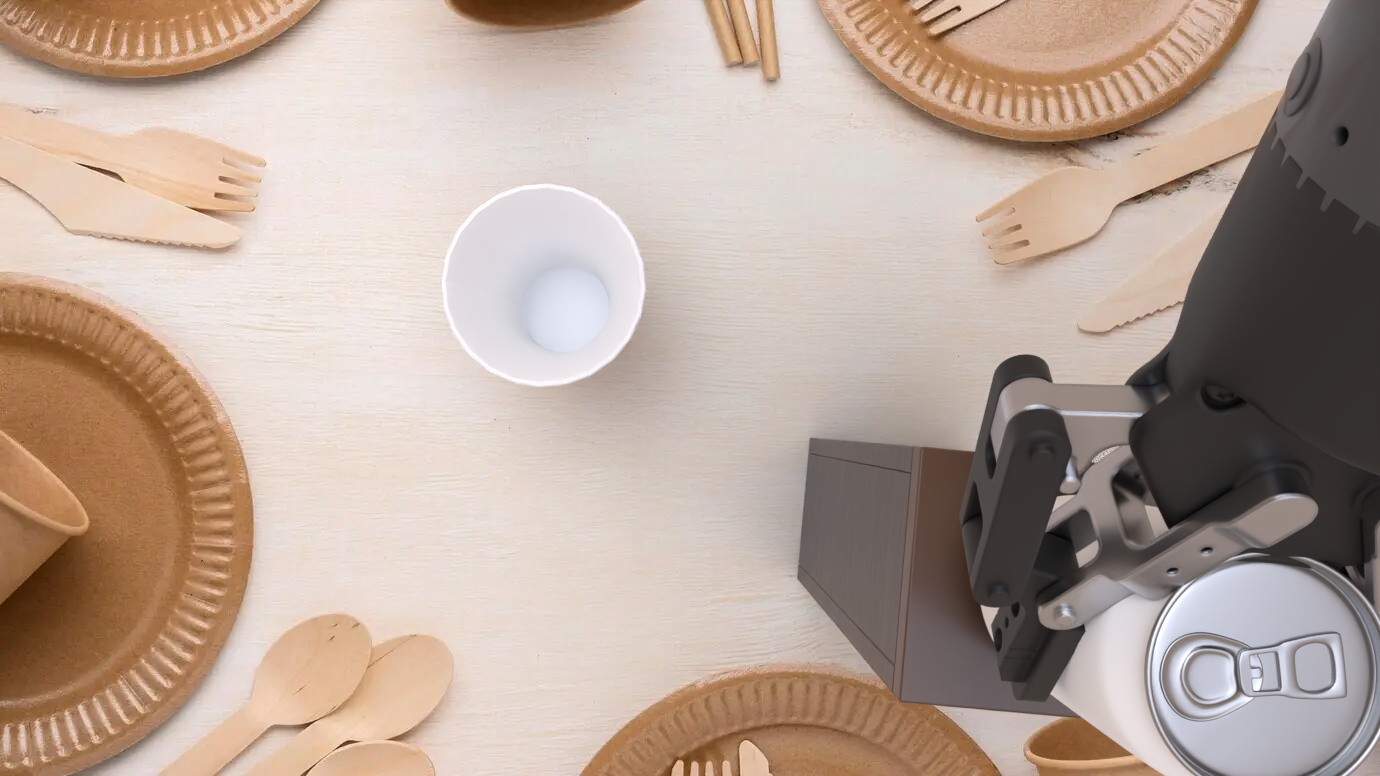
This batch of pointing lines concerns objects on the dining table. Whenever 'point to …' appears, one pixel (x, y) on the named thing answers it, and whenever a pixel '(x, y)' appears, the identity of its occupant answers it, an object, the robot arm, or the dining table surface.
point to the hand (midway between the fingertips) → (1149, 683)
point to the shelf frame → (857, 541)
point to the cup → (543, 285)
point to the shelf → (948, 601)
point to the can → (1233, 671)
